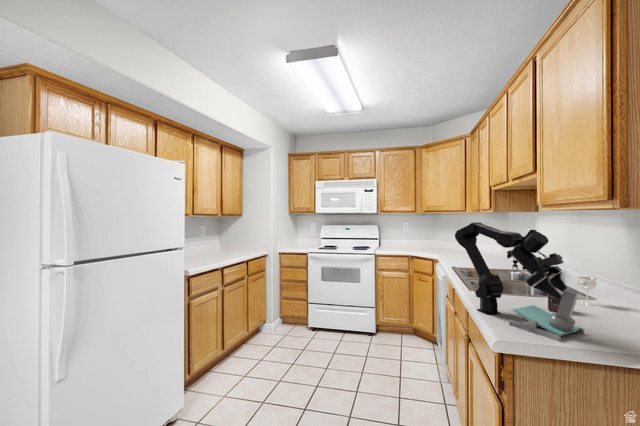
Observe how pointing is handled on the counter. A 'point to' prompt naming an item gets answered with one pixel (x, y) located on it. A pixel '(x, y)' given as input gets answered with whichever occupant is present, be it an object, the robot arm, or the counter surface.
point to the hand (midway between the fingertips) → (564, 295)
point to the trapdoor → (541, 318)
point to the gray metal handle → (565, 311)
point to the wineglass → (587, 286)
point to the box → (553, 302)
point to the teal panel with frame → (534, 329)
